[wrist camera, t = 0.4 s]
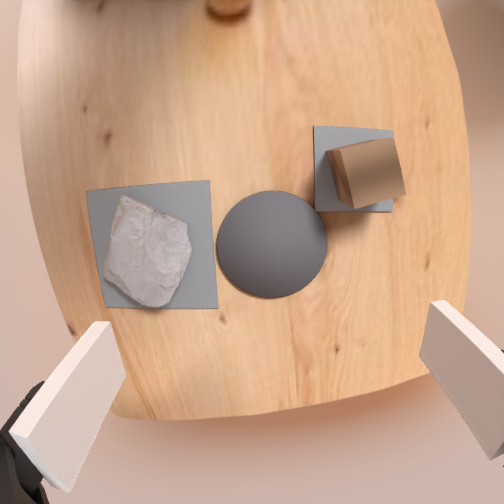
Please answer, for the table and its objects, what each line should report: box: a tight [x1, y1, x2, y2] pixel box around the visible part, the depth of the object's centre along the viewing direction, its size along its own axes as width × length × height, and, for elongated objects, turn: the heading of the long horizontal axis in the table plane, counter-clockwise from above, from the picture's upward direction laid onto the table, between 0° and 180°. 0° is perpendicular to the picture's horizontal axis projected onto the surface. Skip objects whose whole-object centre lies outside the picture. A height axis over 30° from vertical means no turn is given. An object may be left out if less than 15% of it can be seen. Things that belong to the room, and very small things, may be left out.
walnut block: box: [326, 138, 406, 209], centre depth 31 cm, size 6×6×6 cm
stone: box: [103, 195, 192, 307], centre depth 36 cm, size 10×12×4 cm
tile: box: [314, 126, 394, 212], centre depth 34 cm, size 10×10×1 cm
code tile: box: [87, 180, 218, 309], centre depth 37 cm, size 16×16×1 cm
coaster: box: [217, 191, 327, 298], centre depth 37 cm, size 13×13×1 cm
